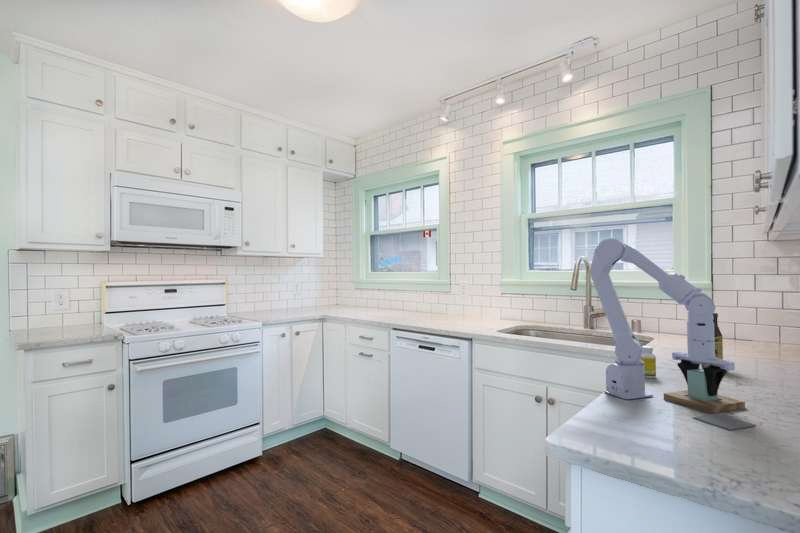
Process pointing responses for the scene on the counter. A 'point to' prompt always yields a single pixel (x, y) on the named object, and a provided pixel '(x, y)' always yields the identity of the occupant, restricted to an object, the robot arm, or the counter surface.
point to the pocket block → (709, 407)
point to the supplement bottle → (649, 361)
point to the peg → (698, 385)
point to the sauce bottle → (717, 340)
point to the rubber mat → (724, 421)
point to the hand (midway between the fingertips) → (702, 392)
